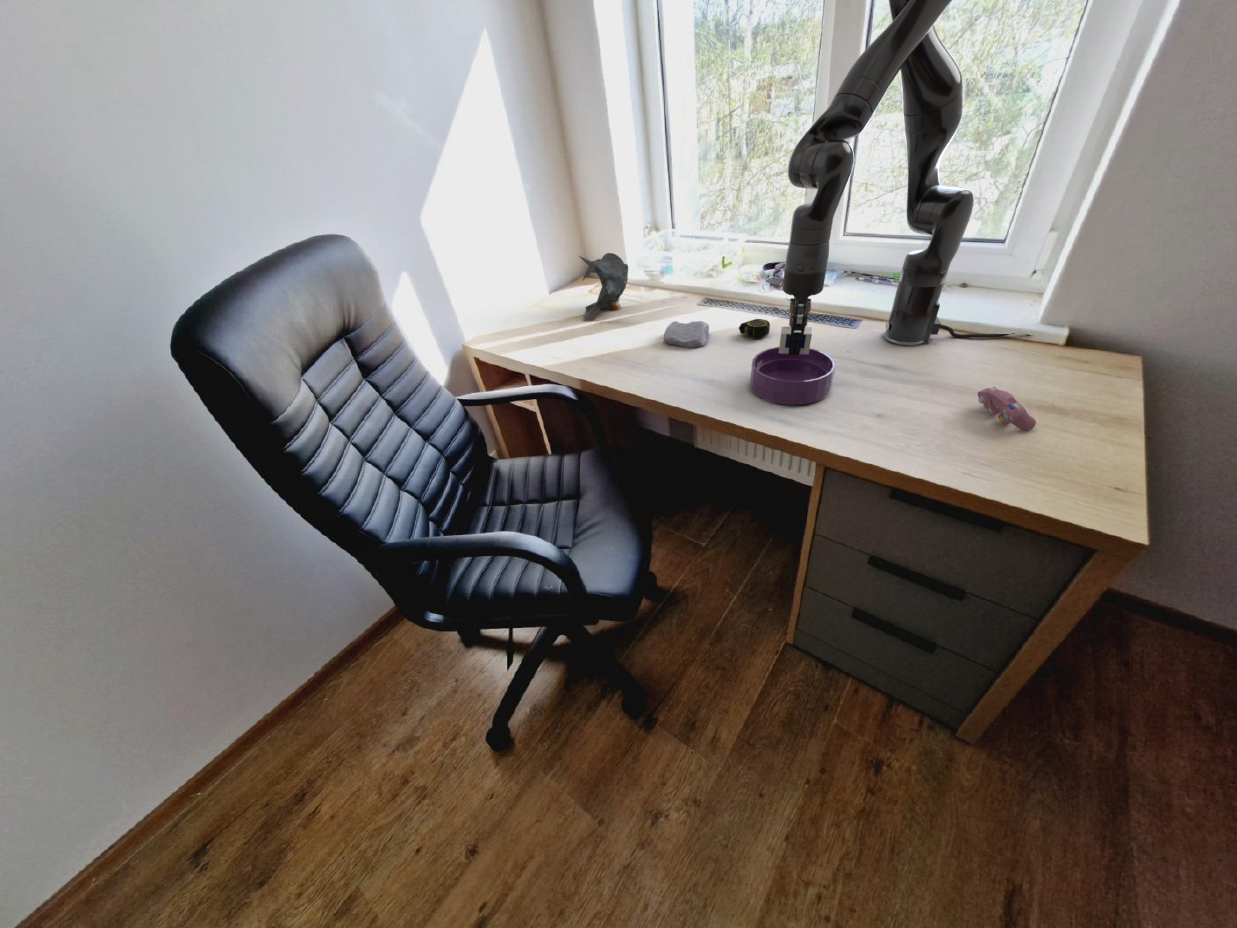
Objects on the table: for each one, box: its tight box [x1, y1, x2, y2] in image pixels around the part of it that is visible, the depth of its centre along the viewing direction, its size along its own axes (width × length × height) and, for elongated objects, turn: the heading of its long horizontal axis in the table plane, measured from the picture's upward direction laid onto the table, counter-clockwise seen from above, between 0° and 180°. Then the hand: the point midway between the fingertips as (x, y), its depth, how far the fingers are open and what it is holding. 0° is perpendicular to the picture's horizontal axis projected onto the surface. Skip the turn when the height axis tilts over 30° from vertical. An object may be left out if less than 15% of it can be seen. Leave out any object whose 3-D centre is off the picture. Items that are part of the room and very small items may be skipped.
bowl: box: [749, 346, 836, 406], centre depth 104 cm, size 17×17×6 cm
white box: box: [778, 326, 813, 354], centre depth 98 cm, size 6×4×4 cm, turn 73°
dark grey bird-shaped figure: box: [578, 252, 629, 322], centre depth 150 cm, size 14×15×18 cm
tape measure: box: [738, 318, 771, 339], centre depth 127 cm, size 7×7×4 cm
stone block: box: [663, 320, 710, 349], centre depth 130 cm, size 12×5×10 cm
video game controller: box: [977, 386, 1037, 431], centre depth 87 cm, size 10×5×7 cm, turn 5°
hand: (794, 349), depth 100 cm, fingers closed on white box, 3 cm apart
